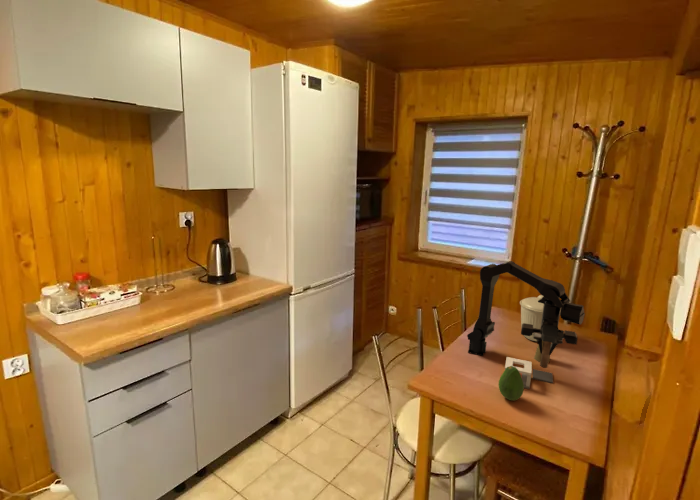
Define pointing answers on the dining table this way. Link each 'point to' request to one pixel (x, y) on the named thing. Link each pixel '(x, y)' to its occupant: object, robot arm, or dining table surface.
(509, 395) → the fruit
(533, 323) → the canister
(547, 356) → the cylinder
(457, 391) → the dining table surface
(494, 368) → the dining table surface
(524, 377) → the guard
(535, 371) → the pad
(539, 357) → the cork
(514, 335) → the dining table surface
